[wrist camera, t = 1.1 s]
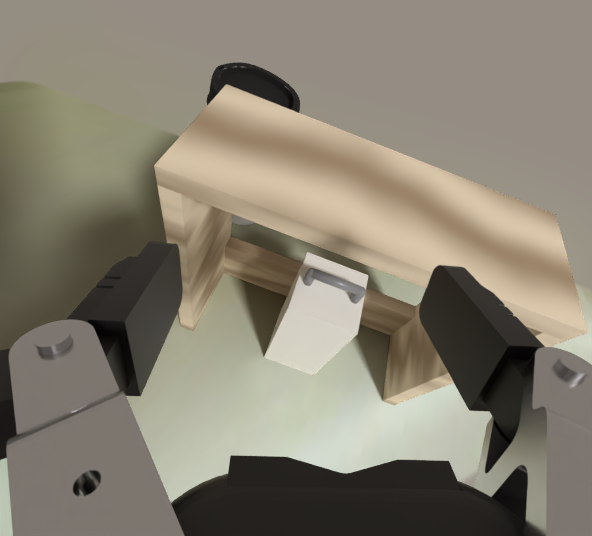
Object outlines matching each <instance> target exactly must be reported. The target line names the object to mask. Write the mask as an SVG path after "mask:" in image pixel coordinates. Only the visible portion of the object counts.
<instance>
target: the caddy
mask: <svg viewBox="0 0 592 536" xmlns="http://www.w3.org/2000/svg"><path fill="white" fill-rule="evenodd" d="M368 276H369V275H366V274H364V273H361V272H358V271H356V270H353V269H350V268H348V267H345V266H343V265H340V264H337V263H335V262H332V261H330V260H327V259H324V258H322V257H319V256H316V255H314V254H311V253H309V252H307V254H306V256H305V258H304V260H303V263H302V265H301V267H300V269H299V271H298V274H297V276H296V278H295V280H294V283H293V285H292V287H291V289H290V291H289V294H288V296H287V298H286V300H285V302H284V305H283V307H282V309H281V311H280V314H279V317H278V319H277V322H276V325H275V328H274V331H273V333H272V336H271V339H270V342H269V345H268V348H267V350H266V353H265V356H264V357H265V358H268V359H270V360H273V361H276V362H278V363H281V364H284V365H287V366H289V367H292V368H295V369H297V370H300V371H303V372H305V373H308V374H311V375H314V374H315V373H316V372H317V371H319V370H320V369H321V368H322V367H323V366H324V365H325V364H326V363H327V362H328V361H329V360H330V359H331V358H332V357H333V356H335V355H336V354H337V353H338V352H339V351H340V350H341V349H342V348H343V347H344V346H345V345H346V344H347V343H348V342H349V341H351V340H352V339H353V338H354V337H355V336H356V335H357V334H358V330H359V324H360V319H361V313H362V308H363V303H364V297H365V294H366V287H367V281H368Z"/></svg>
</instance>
